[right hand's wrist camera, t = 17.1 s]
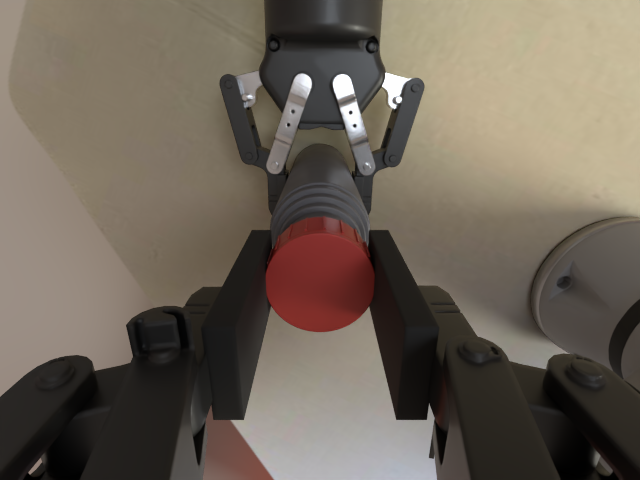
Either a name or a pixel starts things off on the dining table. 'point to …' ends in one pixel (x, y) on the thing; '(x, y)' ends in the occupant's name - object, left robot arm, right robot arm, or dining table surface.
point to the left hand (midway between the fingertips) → (319, 219)
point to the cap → (320, 275)
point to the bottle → (320, 192)
